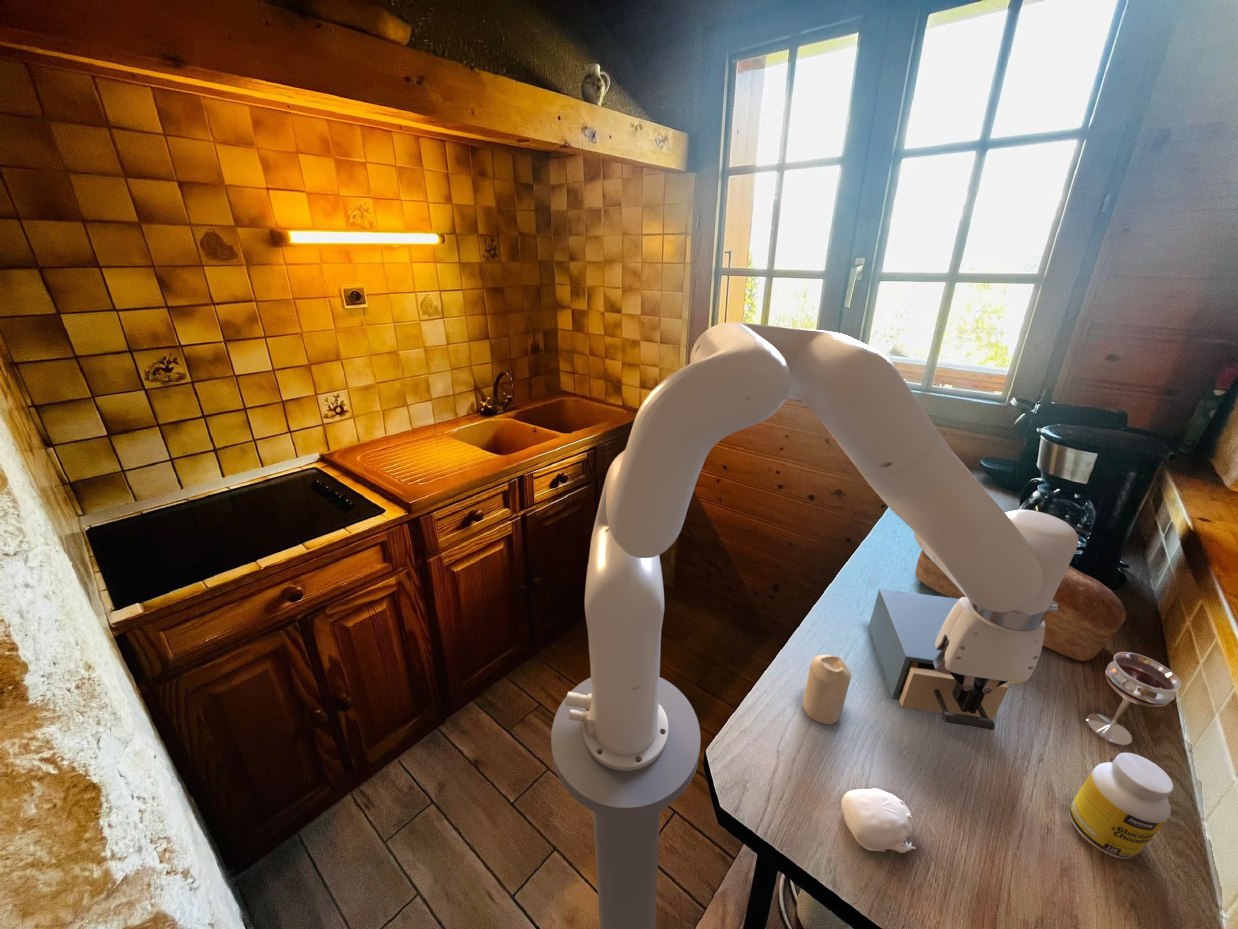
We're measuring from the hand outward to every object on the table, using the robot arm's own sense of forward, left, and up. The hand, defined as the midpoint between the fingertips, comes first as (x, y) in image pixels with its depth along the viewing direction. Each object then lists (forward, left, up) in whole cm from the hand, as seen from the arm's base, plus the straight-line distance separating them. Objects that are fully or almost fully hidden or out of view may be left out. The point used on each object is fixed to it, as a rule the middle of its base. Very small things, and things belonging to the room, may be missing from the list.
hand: (963, 703), depth 69 cm
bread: (+19, +30, -6) cm, 36 cm away
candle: (-18, 0, -6) cm, 19 cm away
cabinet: (0, +12, -6) cm, 14 cm away
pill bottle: (+13, -11, -6) cm, 18 cm away
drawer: (0, +7, -5) cm, 9 cm away
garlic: (-14, -16, -6) cm, 22 cm away
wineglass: (+23, +5, -6) cm, 24 cm away
